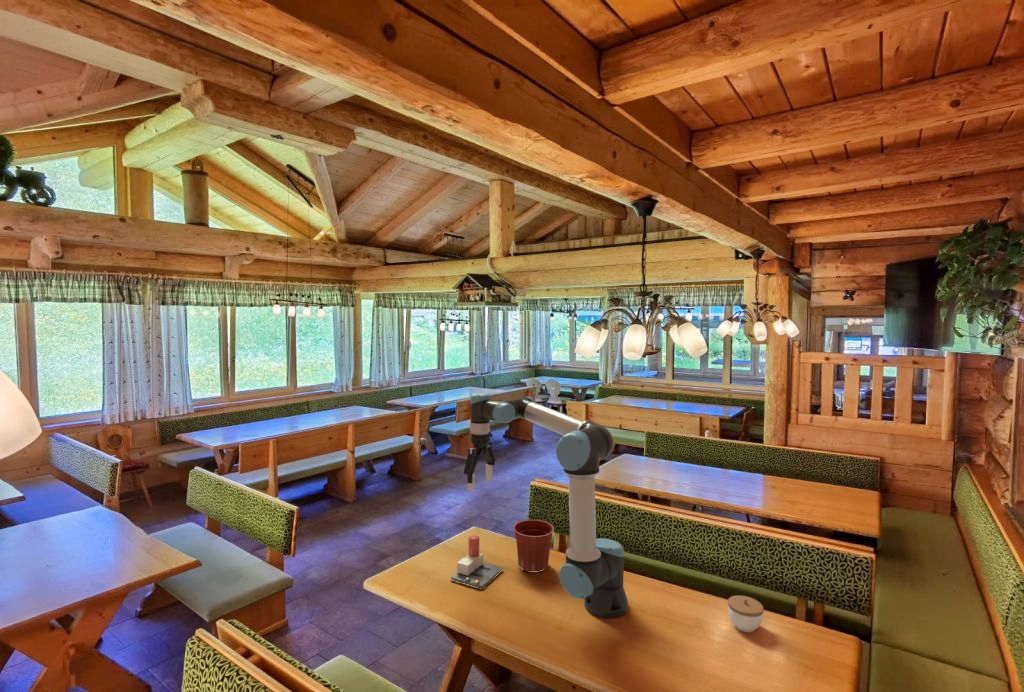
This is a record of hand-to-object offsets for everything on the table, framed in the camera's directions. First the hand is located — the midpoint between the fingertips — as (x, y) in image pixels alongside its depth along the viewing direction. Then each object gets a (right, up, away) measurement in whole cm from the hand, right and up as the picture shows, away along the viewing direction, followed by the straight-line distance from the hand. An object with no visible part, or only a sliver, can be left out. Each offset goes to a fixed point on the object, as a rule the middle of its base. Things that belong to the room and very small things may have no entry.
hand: (480, 485), depth 205 cm
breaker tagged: (-2, -33, +3) cm, 33 cm away
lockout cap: (-3, -29, +3) cm, 29 cm away
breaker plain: (-5, -33, -2) cm, 34 cm away
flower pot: (+21, -35, +6) cm, 41 cm away
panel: (-1, -35, -2) cm, 35 cm away
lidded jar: (+89, -38, -34) cm, 103 cm away
